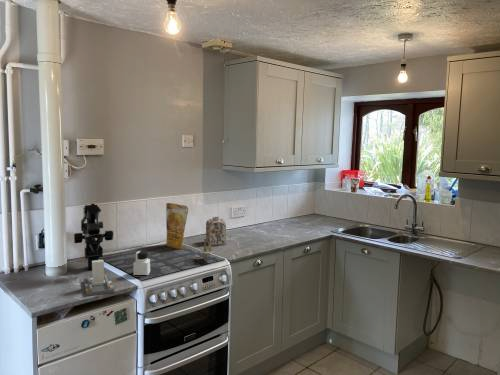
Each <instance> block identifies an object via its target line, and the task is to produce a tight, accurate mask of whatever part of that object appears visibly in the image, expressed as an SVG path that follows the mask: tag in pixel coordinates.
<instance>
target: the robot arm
mask: <svg viewBox="0 0 500 375" xmlns="http://www.w3.org/2000/svg"><path fill="white" fill-rule="evenodd" d="M101 212H102V209H101V208H100V206H98V204H95V203H90V204H85V205H84V207H83V217H82V219H80V231H81V232H76V233H74V235H73V239H74V240H73V243H74V244H81V243H83V240H84V244H85V247H84V255H83V256H84V259H85V260H86V259H87V266H84V269H87V270H89V271H92V261H95V260H100V258H102V257H103V252H104V248H103V247H102V245H101V243H103V242H104V240H105V241H113V239H114V231H113V230H104V233H101V229H104V222H103V221H99V216H100V213H101Z"/></svg>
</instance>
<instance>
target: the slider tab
mask: <svg viewBox="0 0 500 375" xmlns="http://www.w3.org/2000/svg"><path fill="white" fill-rule="evenodd" d="M91 273H92V276H91V278H92V280H93V281H91V284H92V286H95V285H102V284H106V282H105V279H104V274H105V260H104V259H99V260H95V261H92V270H91Z"/></svg>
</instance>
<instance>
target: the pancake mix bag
mask: <svg viewBox="0 0 500 375" xmlns="http://www.w3.org/2000/svg"><path fill="white" fill-rule="evenodd" d="M165 205H166V206H165V207H166V208H165V209H166V210H165V211H166V212H165V213H166V216H165V217H166V221H165V224H166V226H165V227H166V243H165V244H167V245H166V246H167V247H169V248H173V249H176V250H183V249H184V248H183V240H184V234H185V228H186V223H187V219H188V217H187V216H188V213H189V206H187V205H183V204H177V203H171V202H167V203H165Z"/></svg>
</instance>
